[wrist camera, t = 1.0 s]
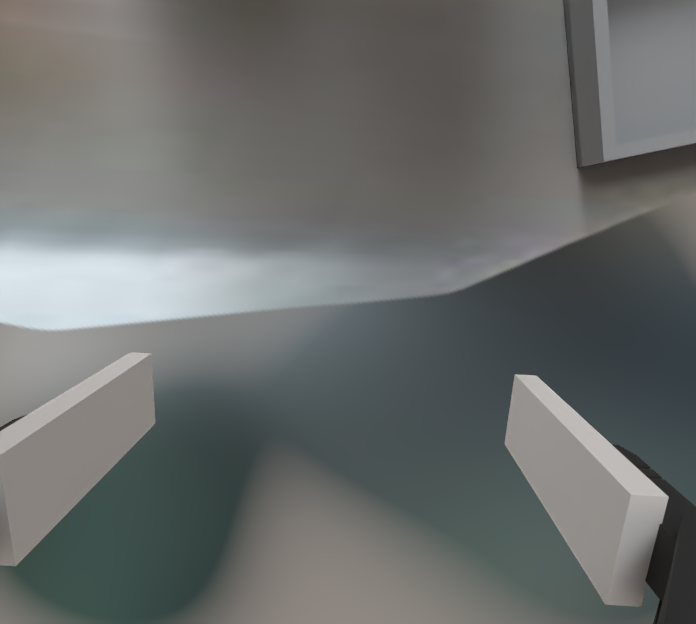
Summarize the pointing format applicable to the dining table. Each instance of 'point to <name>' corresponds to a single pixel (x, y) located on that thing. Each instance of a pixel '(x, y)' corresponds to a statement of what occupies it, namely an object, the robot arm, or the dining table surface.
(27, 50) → the dining table surface
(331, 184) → the dining table surface
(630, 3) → the box
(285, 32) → the dining table surface
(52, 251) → the dining table surface
